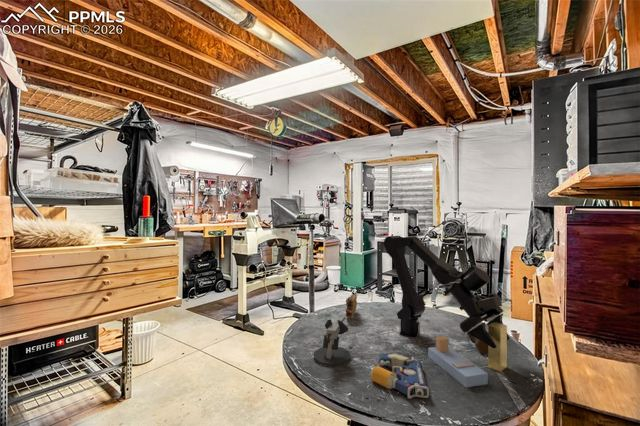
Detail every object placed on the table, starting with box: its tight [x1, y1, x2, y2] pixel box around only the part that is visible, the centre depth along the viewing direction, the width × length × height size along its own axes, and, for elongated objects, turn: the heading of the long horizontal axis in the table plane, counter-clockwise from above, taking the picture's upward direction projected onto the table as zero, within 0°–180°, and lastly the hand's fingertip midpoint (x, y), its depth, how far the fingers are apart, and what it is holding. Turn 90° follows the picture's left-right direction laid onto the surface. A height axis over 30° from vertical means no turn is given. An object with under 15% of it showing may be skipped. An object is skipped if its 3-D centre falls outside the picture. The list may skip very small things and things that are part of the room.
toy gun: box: [370, 352, 430, 399], centre depth 89 cm, size 21×4×15 cm
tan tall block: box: [487, 322, 508, 373], centre depth 94 cm, size 4×4×13 cm
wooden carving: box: [345, 293, 358, 319], centre depth 139 cm, size 16×5×10 cm, turn 169°
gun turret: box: [313, 315, 351, 368], centre depth 104 cm, size 13×20×13 cm, turn 161°
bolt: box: [466, 330, 488, 355], centre depth 111 cm, size 6×5×15 cm
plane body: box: [427, 335, 489, 388], centre depth 93 cm, size 18×7×7 cm, turn 13°
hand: (502, 343), depth 93 cm, fingers open, 9 cm apart
